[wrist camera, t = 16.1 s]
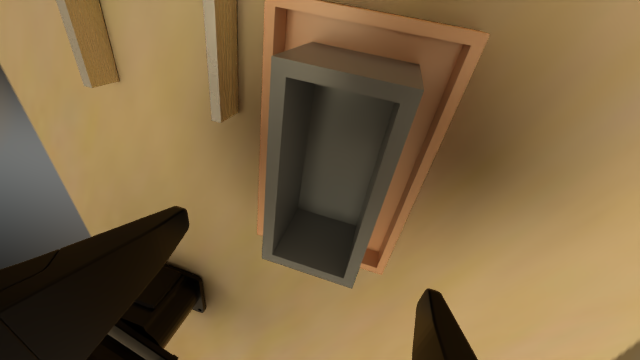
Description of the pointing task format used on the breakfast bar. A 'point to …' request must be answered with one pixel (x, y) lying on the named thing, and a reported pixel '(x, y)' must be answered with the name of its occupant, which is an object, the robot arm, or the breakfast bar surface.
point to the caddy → (332, 154)
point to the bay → (99, 66)
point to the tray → (392, 42)
